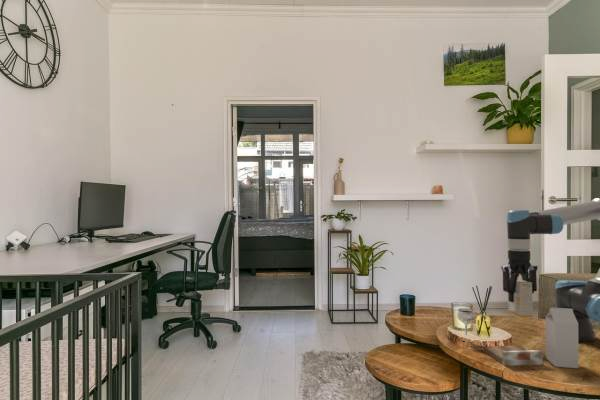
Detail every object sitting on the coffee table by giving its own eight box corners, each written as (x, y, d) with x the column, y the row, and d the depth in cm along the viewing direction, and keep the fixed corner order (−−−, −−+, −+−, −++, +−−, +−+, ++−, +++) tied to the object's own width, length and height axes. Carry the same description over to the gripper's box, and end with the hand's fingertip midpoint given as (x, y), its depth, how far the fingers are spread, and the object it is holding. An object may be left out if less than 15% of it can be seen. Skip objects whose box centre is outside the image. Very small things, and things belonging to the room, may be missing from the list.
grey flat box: (518, 350, 140) (518, 338, 140) (543, 364, 128) (543, 351, 128) (483, 351, 139) (483, 339, 139) (504, 366, 126) (504, 352, 127)
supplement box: (533, 317, 141) (532, 282, 141) (521, 318, 140) (520, 282, 141) (519, 311, 149) (518, 278, 149) (507, 311, 149) (507, 278, 149)
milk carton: (578, 368, 125) (578, 311, 125) (554, 367, 126) (554, 310, 126) (567, 360, 132) (567, 306, 132) (545, 358, 133) (545, 305, 133)
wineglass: (453, 339, 151) (453, 309, 152) (462, 336, 156) (462, 307, 156) (470, 344, 146) (470, 313, 146) (478, 340, 150) (478, 310, 150)
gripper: (533, 248, 150) (535, 306, 149) (491, 249, 148) (492, 308, 148) (547, 250, 142) (549, 311, 142) (503, 251, 140) (504, 313, 140)
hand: (520, 309), depth 145 cm, fingers closed on supplement box, 5 cm apart
